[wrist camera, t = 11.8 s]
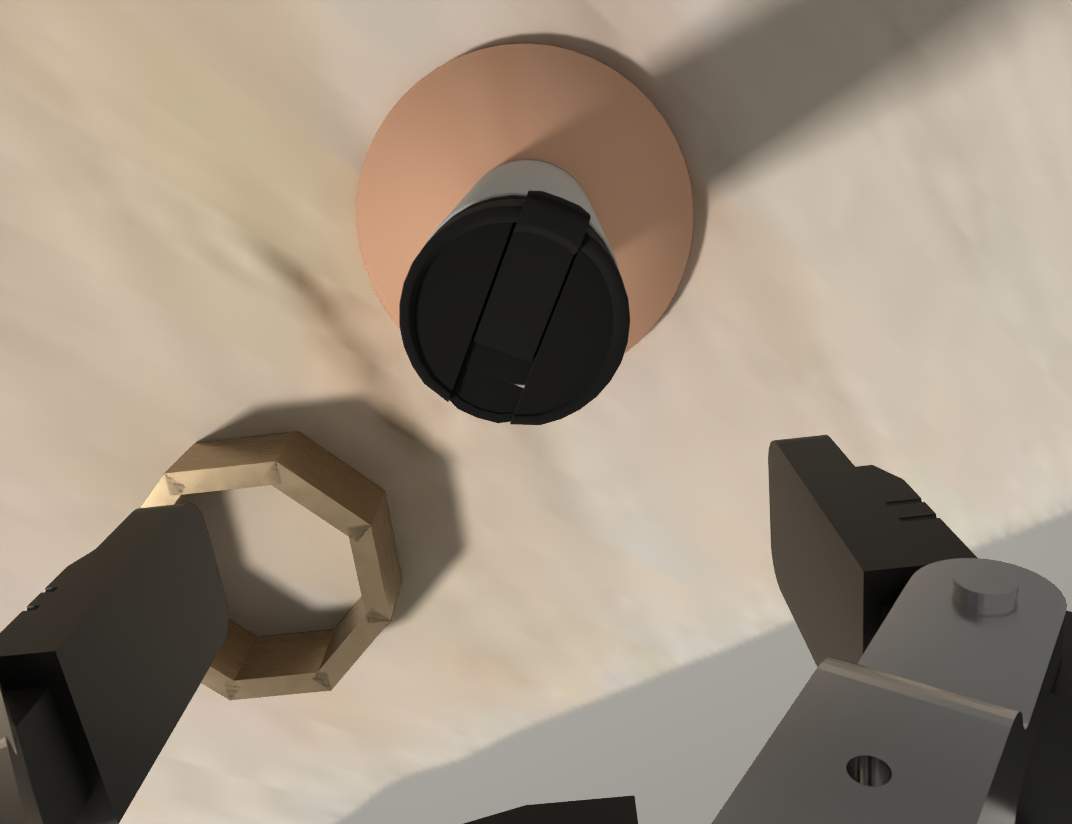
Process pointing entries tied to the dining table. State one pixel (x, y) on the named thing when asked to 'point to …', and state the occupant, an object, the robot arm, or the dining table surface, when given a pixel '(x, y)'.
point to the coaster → (529, 133)
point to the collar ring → (335, 499)
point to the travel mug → (517, 299)
